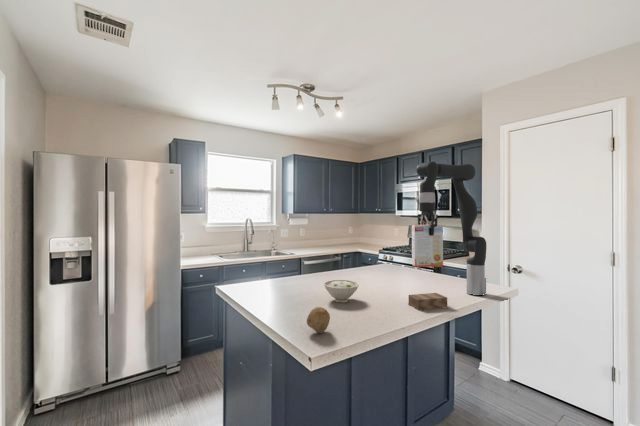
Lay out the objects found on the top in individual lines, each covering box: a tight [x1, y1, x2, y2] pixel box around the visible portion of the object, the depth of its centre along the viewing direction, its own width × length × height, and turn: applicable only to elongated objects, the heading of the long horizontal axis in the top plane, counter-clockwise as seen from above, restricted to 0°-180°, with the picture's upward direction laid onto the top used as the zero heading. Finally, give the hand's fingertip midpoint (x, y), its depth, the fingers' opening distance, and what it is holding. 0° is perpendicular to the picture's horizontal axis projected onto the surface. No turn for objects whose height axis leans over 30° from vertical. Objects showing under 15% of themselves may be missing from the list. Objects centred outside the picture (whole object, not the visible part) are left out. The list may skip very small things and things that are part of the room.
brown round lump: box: [306, 306, 331, 334], centre depth 116 cm, size 9×9×10 cm
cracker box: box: [411, 224, 444, 268], centre depth 150 cm, size 14×6×21 cm, turn 88°
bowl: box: [322, 279, 360, 303], centre depth 159 cm, size 19×19×10 cm
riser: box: [408, 292, 448, 311], centre depth 149 cm, size 16×9×5 cm, turn 104°
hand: (427, 234), depth 150 cm, fingers closed on cracker box, 6 cm apart
